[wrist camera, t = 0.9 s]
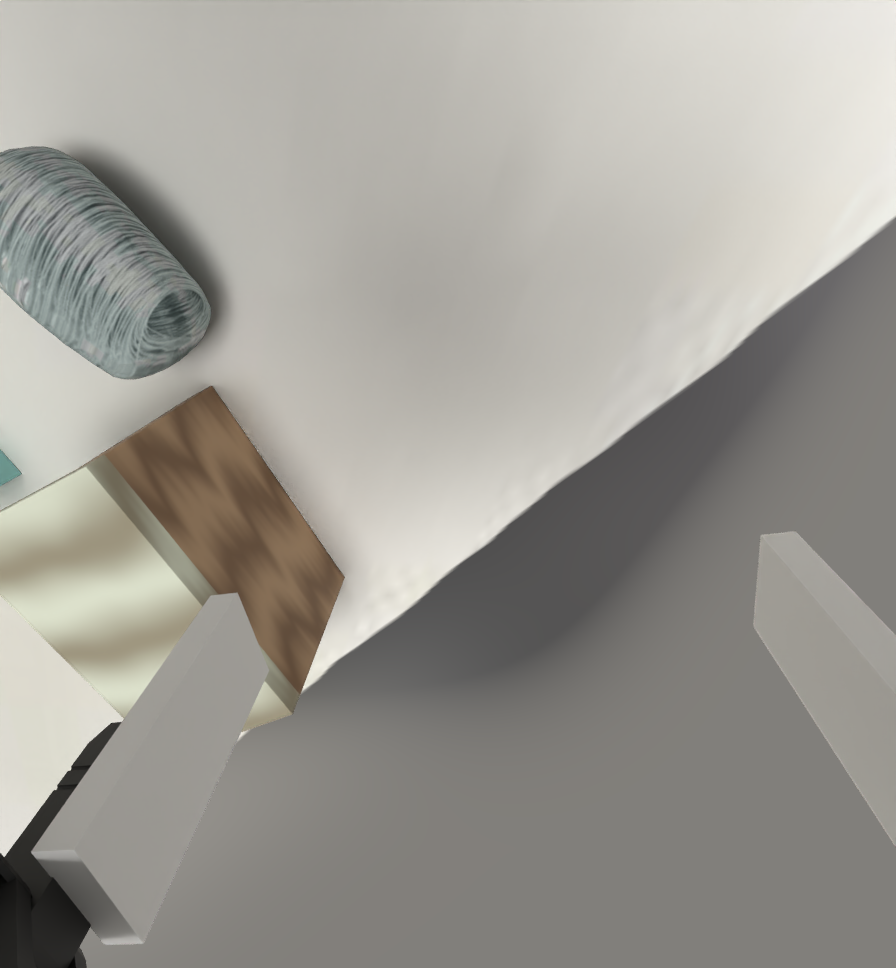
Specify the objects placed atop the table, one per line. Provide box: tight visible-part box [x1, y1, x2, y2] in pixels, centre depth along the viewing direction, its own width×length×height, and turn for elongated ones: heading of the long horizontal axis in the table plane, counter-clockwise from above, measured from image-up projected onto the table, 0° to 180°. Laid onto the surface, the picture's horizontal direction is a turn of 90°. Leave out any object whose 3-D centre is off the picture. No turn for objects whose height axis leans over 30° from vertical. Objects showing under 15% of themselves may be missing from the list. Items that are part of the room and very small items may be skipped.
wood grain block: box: [0, 386, 344, 732], centre depth 38 cm, size 18×10×14 cm, turn 27°
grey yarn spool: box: [0, 147, 211, 379], centre depth 33 cm, size 14×10×10 cm
